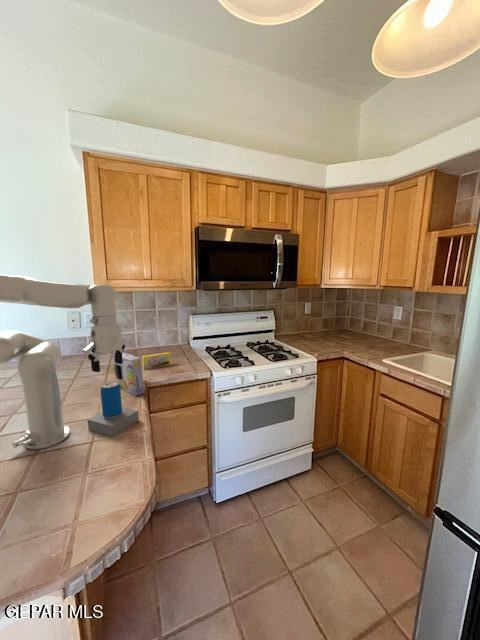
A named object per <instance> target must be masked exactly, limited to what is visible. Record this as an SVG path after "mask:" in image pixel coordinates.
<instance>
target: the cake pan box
mask: <svg viewBox="0 0 480 640" xmlns="http://www.w3.org/2000/svg"><path fill="white" fill-rule="evenodd" d="M112 356H113V363H114V367H113V368H114V373H115V374H114V375H115V377H116V382H118V384H119V385H120V390H123V391H125V392H127V393H129V394H131V395H133V396H135V397H136V396H140V395H142V394H145V388H144V380H143V379H144V378H143V372H142V370H143V368H142V361H141V357H138V356H135V355H133V354H130V353H125V352H123V353H122V361H123V363H122V364H117V363H115V353H114V354H113V355H112Z"/></svg>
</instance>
